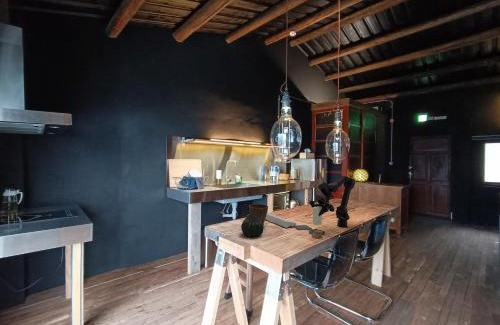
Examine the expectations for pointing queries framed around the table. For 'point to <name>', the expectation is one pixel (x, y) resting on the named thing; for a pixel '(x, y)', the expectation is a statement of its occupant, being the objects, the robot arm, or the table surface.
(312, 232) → the offcut rack
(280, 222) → the decorative molding
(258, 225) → the squash
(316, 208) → the sage plank
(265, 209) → the plant pot
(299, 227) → the rubber mat
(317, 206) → the robot arm
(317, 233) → the walnut offcut stack
